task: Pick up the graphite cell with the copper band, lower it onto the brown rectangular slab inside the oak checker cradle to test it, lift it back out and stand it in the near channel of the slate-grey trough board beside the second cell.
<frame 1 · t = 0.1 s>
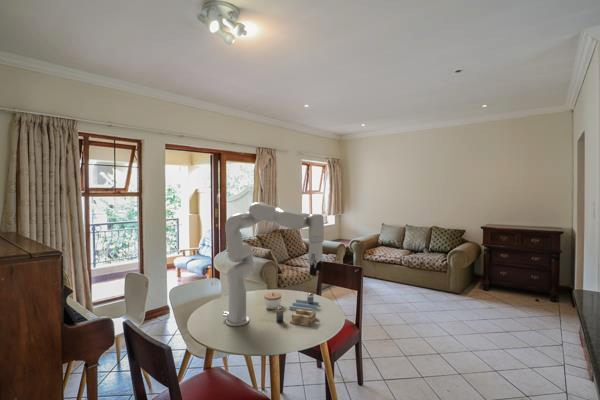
hand: (315, 272, 148), 31 cm above the table, fingers open, 9 cm apart
brown rectangular slab: (302, 316, 165), point 3 cm above the table, slide at 0.0 cm
lidded jar: (272, 308, 184), on the table
trough board: (304, 308, 182), on the table
cell b: (310, 306, 184), point 1 cm above the table, touching trough board
cradle: (303, 321, 164), on the table
cell a: (279, 321, 164), on the table
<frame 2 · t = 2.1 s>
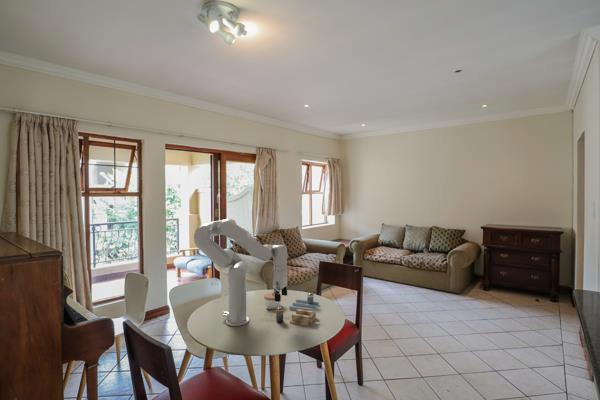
hand: (281, 298, 164), 13 cm above the table, fingers open, 9 cm apart
nothing on the table moved.
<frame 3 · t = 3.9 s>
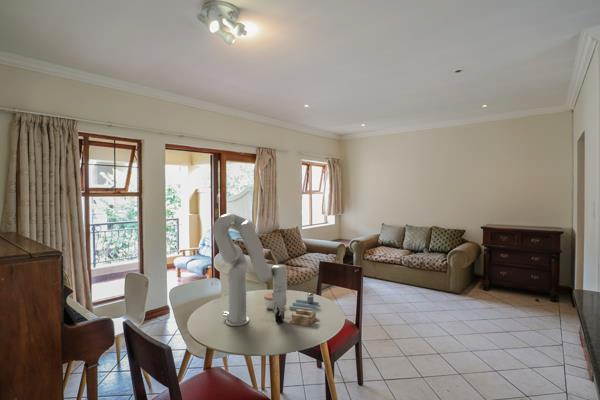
hand: (279, 320, 164), 1 cm above the table, fingers closed on cell a, 3 cm apart
cell a: (279, 321, 164), on the table, touching gripper
everything else where it was.
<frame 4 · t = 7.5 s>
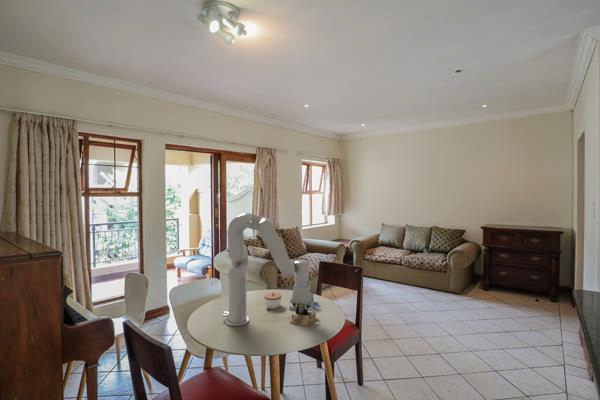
hand: (301, 315, 165), 3 cm above the table, fingers closed on cell a, 3 cm apart
brown rectangular slab: (302, 317, 165), point 2 cm above the table, slide at -0.7 cm, touching cell a
cell a: (301, 316, 165), point 2 cm above the table, touching gripper, brown rectangular slab
everything else where it was.
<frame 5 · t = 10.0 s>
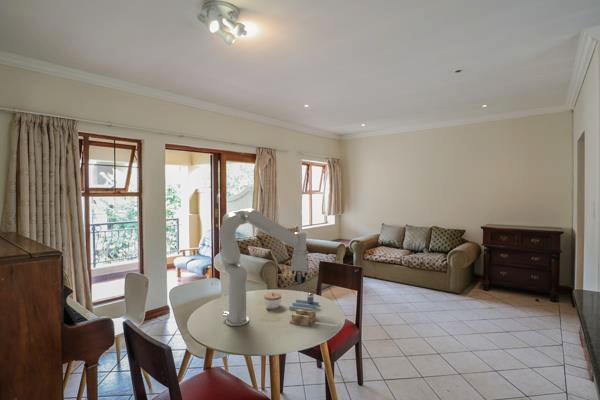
hand: (299, 282, 180), 17 cm above the table, fingers closed on cell a, 3 cm apart
brown rectangular slab: (302, 317, 165), point 2 cm above the table, slide at -0.5 cm
cell a: (299, 283, 180), point 16 cm above the table, touching gripper
everything else where it was.
when the fingers open (3 cm above the table, at t = 12.4 s): cell a drops 1 cm, resting on trough board.
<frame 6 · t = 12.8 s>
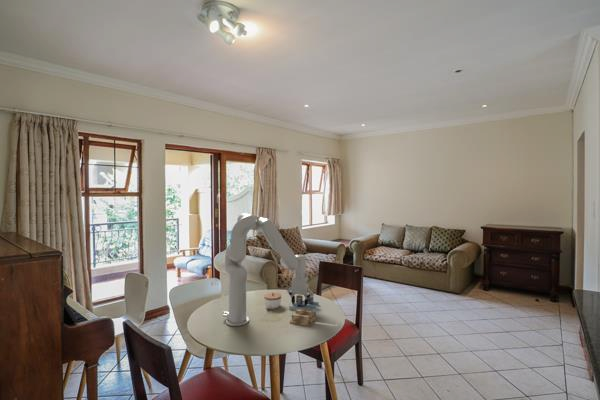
hand: (299, 303, 180), 4 cm above the table, fingers open, 7 cm apart
cell a: (299, 308, 180), point 1 cm above the table, touching trough board
everything else where it was.
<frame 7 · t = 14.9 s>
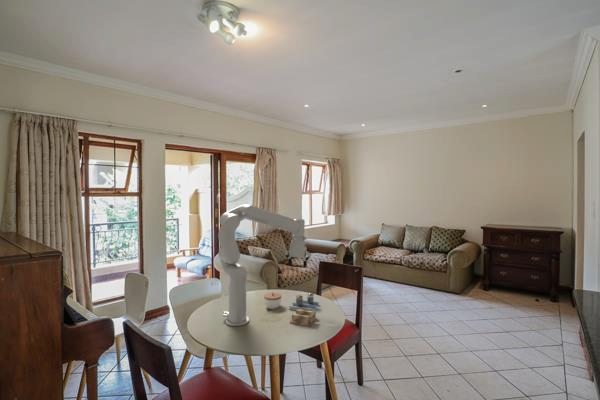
hand: (297, 266, 183), 26 cm above the table, fingers open, 9 cm apart
nothing on the table moved.
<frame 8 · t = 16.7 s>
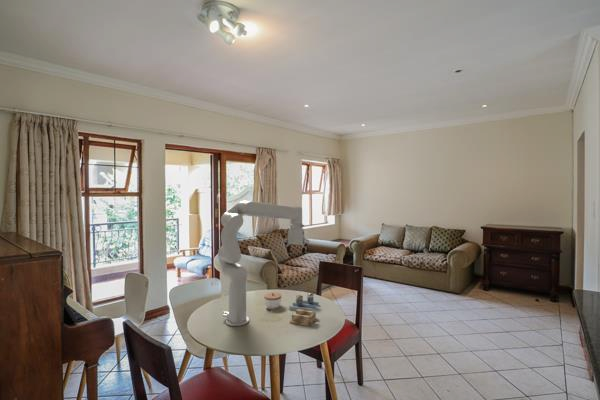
hand: (296, 253, 188), 33 cm above the table, fingers open, 9 cm apart
nothing on the table moved.
at the end: cell a inside the target area on the trough board (2.1 cm from its centre), point 1.0 cm above the trough board's base; cell a tilted 1°; the gripper is holding nothing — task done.
